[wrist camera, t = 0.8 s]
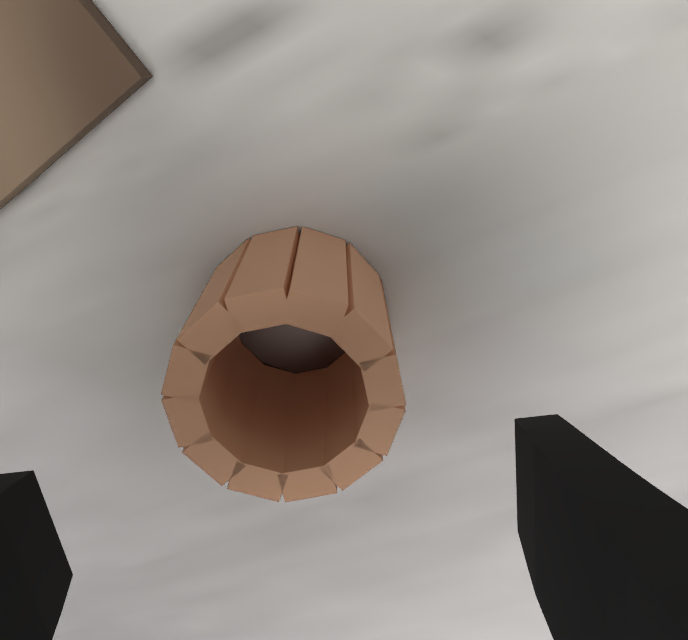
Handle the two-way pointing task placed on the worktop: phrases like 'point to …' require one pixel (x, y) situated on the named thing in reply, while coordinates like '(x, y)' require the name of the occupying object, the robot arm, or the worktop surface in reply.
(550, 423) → the robot arm
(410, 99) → the worktop surface
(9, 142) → the holder
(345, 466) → the tube
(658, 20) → the worktop surface
